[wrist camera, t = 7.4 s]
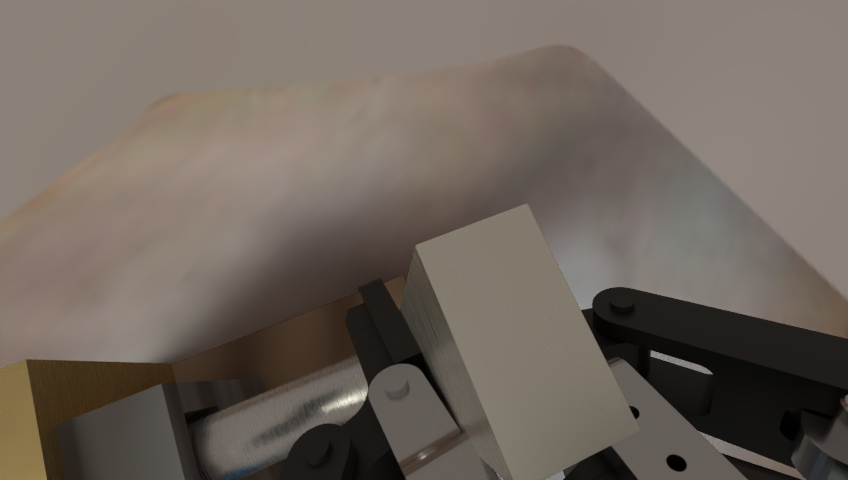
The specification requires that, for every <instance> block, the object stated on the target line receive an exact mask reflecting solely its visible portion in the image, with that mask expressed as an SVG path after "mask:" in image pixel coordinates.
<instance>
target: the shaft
mask: <svg viewBox="0 0 848 480" xmlns="http://www.w3.org/2000/svg"><path fill="white" fill-rule="evenodd" d="M399 311H400V313H401V314H402V316H403V318H404V320H405V321H406V323H407V325H408V327H409V328H410V330H411V332H412V334H413V336H414V338H415V340H416V342H417V344H418V346H419V348H420V350H421V353H422V356H423V359H424V363H425V366H426V369H427V372H428V376H429V379H430V382H431V386H432V388H433V390H434V391H435V393H436V394H437V396H438V397H439V399H440V400H441V402H442V403H443V405H444V406H445V408H446V409H447V411H448V413H449V414H450V416H451V417H452V419H453V420H454V422H455V423H456V425H457V426H458V428H459V429H460V430H461V431H463V430H465V431H466V433H467V434H468V436H469V438H470V440H471V441H472V443H473V445H474V447H475V449H476V451H477V453H478V455H479V457H480V458H481V459H483V460H484V461H485V462H486V463H487V464H488V465H489V466H490V467H491V468H492V469H493V470H495V471H496V472H497V473H498V474H499V475H500V476H501V477H502V478H503V479H504V480H545V479H546V478H548V477H550V476H552V475H554V474H556V473H558V472H560V471H562V470H564V469H566V468H568V467H570V466H572V465H574V464H576V463H578V462H580V461H582V460H584V459H585V458H587V457H589V456H591V455H593V454H595V453H597V452H599V451H601V450H603V449H605V448H607V447H609V446H611V445H613V444H615V443H617V442H619V441H621V440H623V439H625V438H626V437H628V436H630V435H632V434H634V433H636V432H638V431H640V428H639V426H638V424H637V422H636V420H635V418H634V416H633V414H632V412H631V410H630V408H629V406H628V404H627V402H626V400H625V398H624V396H623V394H622V392H621V390H620V388H619V386H618V384H617V382H616V380H615V378H614V376H613V374H612V372H611V370H610V368H609V366H608V364H607V362H606V360H605V358H604V356H603V354H602V352H601V350H600V348H599V346H598V344H597V342H596V340H595V338H594V336H593V334H592V332H591V330H590V328H589V326H588V324H587V322H586V320H585V318H584V316H583V314H582V312H581V310H580V308H579V306H578V304H577V302H576V300H575V298H574V296H573V294H572V292H571V290H570V288H569V286H568V284H567V282H566V280H565V278H564V276H563V274H562V272H561V270H560V268H559V266H558V264H557V262H556V260H555V258H554V256H553V254H552V252H551V250H550V248H549V246H548V244H547V242H546V240H545V238H544V236H543V234H542V232H541V230H540V228H539V226H538V224H537V222H536V220H535V218H534V216H533V214H532V212H531V210H530V208H529V206H528V204H527V203H526V204H524V205H521V206H518V207H516V208H513V209H510V210H508V211H505V212H502V213H500V214H497V215H494V216H492V217H489V218H486V219H484V220H481V221H478V222H476V223H473V224H470V225H468V226H465V227H462V228H460V229H457V230H454V231H452V232H449V233H446V234H444V235H441V236H438V237H436V238H433V239H430V240H428V241H425V242H422V243H420V244H417V245H415V247H414V251H413V255H412V260H411V264H410V268H409V272H408V277H407V281H406V285H405V289H404V293H403V298H402V302H401V306H400V310H399ZM367 392H368V385H367V381H366V378H365V376H364V373H363V370H362V367H361V365H360V362H359V359H358V357H357V354H356V355H354V356H351V357H349V358H346V359H344V360H342V361H339V362H337V363H334V364H332V365H329V366H327V367H325V368H322V369H320V370H317V371H315V372H313V373H310V374H308V375H305V376H303V377H300V378H298V379H296V380H293V381H291V382H288V383H286V384H284V385H281V386H279V387H276V388H274V389H271V390H269V391H267V392H264V393H262V394H259V395H257V396H255V397H252V398H250V399H247V400H245V401H242V402H240V403H238V404H235V405H233V406H230V407H228V408H226V409H223V410H221V411H218V412H216V413H213V414H211V415H209V416H206V417H204V418H201V419H199V420H196V421H194V422H192V423H189V424H187V428H188V431H189V435H190V439H191V443H192V447H193V451H194V455H195V459H196V463H197V467H198V470H199V474H200V478H201V480H239V479H241V478H244V477H246V476H248V475H250V474H253V473H255V472H257V471H259V470H262V469H264V468H266V467H268V466H270V465H273V464H275V463H277V462H279V461H282V460H284V459H286V458H287V456H288V454H289V452H290V450H291V448H292V446H293V445H294V443H295V442H296V441H297V439H298V438H299V437H300V436H301V435H302V434H303V433H305V432H306V431H308V430H309V429H311V428H313V427H315V426H317V425H321V424H326V423H332V424H337V425H339V426H342V425H343V424H345V423H346V422H347V421H348V420H349V419H351V418H352V417H353V416H354V415H355V414H356V413H357V412H358V411H359V409H360V408H361V407H362V405H363V404H364V402H365V399H366V396H367Z"/></svg>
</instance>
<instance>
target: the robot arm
mask: <svg viewBox="0 0 848 480" xmlns="http://www.w3.org/2000/svg"><path fill="white" fill-rule="evenodd" d="M358 289H359V292H360V294H361V297H362V300H363V302H364V303H362V304H360V305H357V306H355V307H353V308H350V309H348V311H347V316H346V320H345V324H346V327H347V329H348V332H349V335H350V338H351V340H352V343H353V346H354V348H355V351H356V354H357V357H358V359H359V362H360V365H361V367H362V370H363V373H364V376H365V378H366V381H367V385H368V392H367V396H366V399H365V402H364V404H363V405H362V407H361V408H360V409H359V411H358V412H357V413H356V414H355V415H354V416H353V417H352V418H351V419H349V420H348V421H347V422H346V423H345V424H343V425H342V426H339V425H337V424H332V423H326V424H321V425H317V426H315V427H313V428H311V429H309V430H308V431H306V432H305V433H303V434H302V435H301V436H300V437H299V438H298V439H297V441H296V442H295V443H294V445H293V446H292V448H291V450H290V452H289V454H288V456H287V459H286V461H285V464H284V466H283V468H282V471H281V473H280V476H279V478H278V480H500V479H499V477H498V476H497V474H496V473H495V471H494V470H493V469H492V468H491V467H490V466H489V465H488V464H487V463H486V462H485V461H484V460H483V459H481V458H480V457H479V455H478V453H477V451H476V449H475V447H474V445H473V443H472V441H471V440H470V438H469V436H468V434H467V433H466V431H465V430H463V431H461V430H460V429H459V428H458V426H457V425H456V423H455V422H454V420H453V419H452V417H451V416H450V414H449V413H448V411H447V409H446V408H445V406H444V405H443V403H442V402H441V400H440V399H439V397H438V396H437V394H436V393H435V391H434V390H433V388H432V386H431V382H430V379H429V376H428V372H427V369H426V366H425V363H424V359H423V356H422V353H421V350H420V348H419V346H418V344H417V342H416V340H415V338H414V336H413V334H412V332H411V330H410V328H409V327H408V325H407V323H406V321H405V320H404V318H403V316H402V314H401V313H400V311H399V309H398V307H397V306H396V304H395V302H394V300H393V299H392V297H391V295H390V293H389V292H388V290H387V288H386V286H385V285H384V283H383V281H382V280H381V278H379V279H376V280H374V281H371V282H369V283H367V284H364V285H362V286H359V287H358ZM581 312H582V314H583V316H584V318H585V320H586V322H587V324H588V326H589V328H590V330H591V332H592V334H593V336H594V338H595V340H596V342H597V344H598V346H599V348H600V350H601V352H602V354H603V356H604V358H605V360H606V362H607V364H608V366H609V368H610V370H611V372H612V374H613V376H614V378H615V380H616V382H617V384H618V386H619V388H620V390H621V392H622V394H623V396H624V398H625V400H626V402H627V404H628V406H629V408H630V410H631V412H632V414H633V416H634V418H635V420H636V422H637V424H638V426H639V428H640V431H638V432H636V433H634V434H632V435H630V436H628V437H626V438H625V439H623V440H621V441H619V442H617V443H615V444H613V445H611V446H609V447H607V448H605V449H603V450H601V451H599V452H597V453H595V454H593V455H591V456H589V457H587V458H585V459H584V460H582V461H580V462H578V463H576V464H574V465H572V466H570V467H568V468H566V469H564V470H563V472H564V475H565V478H564V479H563V480H801V479H798V478H795V477H792V476H789V475H786V474H783V473H780V472H777V471H774V470H771V469H768V468H765V467H762V466H759V465H756V464H753V463H750V462H746V461H743V460H740V459H737V458H734V457H731V456H728V455H725V454H722V453H720V452H719V451H718V450H717V449H716V448H715V447H714V446H713V445H712V444H711V443H710V442H709V441H708V440H707V439H705V438H704V437H703V436H702V435H701V434H700V433H699V432H698V431H700V432H702V433H705V434H708V435H710V436H713V437H715V438H718V439H720V440H723V441H726V442H728V443H731V444H733V445H736V446H739V447H741V448H744V449H746V450H749V451H751V452H754V453H757V454H759V455H762V456H764V457H767V458H769V459H772V460H775V461H777V462H780V463H782V464H785V465H788V466H790V467H793V468H795V469H797V470H798V472H799V473H800V474H801V475H802V476H803V477H804V478H805V479H806V480H848V339H846V338H842V337H837V336H833V335H829V334H824V333H820V332H816V331H812V330H807V329H803V328H799V327H794V326H790V325H786V324H781V323H777V322H773V321H768V320H764V319H760V318H756V317H751V316H747V315H743V314H738V313H734V312H730V311H725V310H721V309H717V308H713V307H708V306H704V305H700V304H695V303H691V302H687V301H682V300H678V299H674V298H669V297H665V296H661V295H657V294H652V293H648V292H644V291H639V290H635V289H631V288H624V287H615V288H609V289H606V290H603V291H601V292H600V293H598V294H597V295H596V296H595V297H594V299H593V303H592V308H590V309H585V310H581ZM651 350H653V351H656V352H659V353H662V354H666V355H669V356H672V357H675V358H679V359H682V360H685V361H688V362H692V363H695V364H698V365H701V366H703V367H705V368H707V369H708V370H710V371H711V372H712V373H713V374H705V373H701V372H698V371H695V370H692V369H689V368H685V367H682V366H679V365H676V364H673V363H670V362H666V361H663V360H660V359H657V358H654V357H650V353H651Z"/></svg>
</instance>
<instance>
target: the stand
mask: <svg viewBox="0 0 848 480" xmlns="http://www.w3.org/2000/svg"><path fill="white" fill-rule="evenodd" d="M384 285H385V286H386V288H387V290H388V292H389V293H390V295H391V297H392V299H393V300H394V302H395V304H396V306H397V307H398V309H399V310H400V306H401V302H402V298H403V293H404V289H405V285H406V280H405V277H404V275H402V276H400V277H397V278H395V279H392V280H389V281H387V282H384ZM362 303H364V302H363V300H362V297H361V294H360V292H358V293H356V294H353V295H351V296H348V297H345V298H343V299H340V300H338V301H335V302H332V303H330V304H327V305H325V306H322V307H320V308H317V309H314V310H312V311H309V312H307V313H304V314H301V315H299V316H296V317H294V318H291V319H288V320H286V321H283V322H281V323H278V324H276V325H273V326H270V327H268V328H265V329H263V330H260V331H257V332H255V333H252V334H250V335H247V336H244V337H242V338H239V339H237V340H234V341H232V342H229V343H226V344H224V345H221V346H219V347H216V348H213V349H211V350H208V351H206V352H203V353H200V354H198V355H195V356H193V357H190V358H188V359H185V360H182V361H180V362H177V363H175V364H172V368H173V372H174V376H175V380H176V383H164V384H159V385H157V386H154V387H151V388H149V389H146V390H144V391H141V392H139V393H136V394H134V395H131V396H129V397H126V398H123V399H121V400H118V401H116V402H113V403H111V404H108V405H106V406H103V407H100V408H98V409H95V410H93V411H90V412H88V413H85V414H83V415H80V416H78V417H75V418H72V419H70V420H67V421H65V422H62V423H60V424H57V425H56V427H57V433H58V438H59V444H60V449H61V454H62V460H63V465H64V471H65V476H66V480H201V478H200V474H199V470H198V467H197V463H196V459H195V455H194V451H193V447H192V443H191V439H190V435H189V431H188V428H187V424H189V423H192V422H194V421H196V420H199V419H201V418H204V417H206V416H209V415H211V414H213V413H216V412H218V411H221V410H223V409H226V408H228V407H230V406H233V405H235V404H238V403H240V402H242V401H245V400H247V399H250V398H252V397H255V396H257V395H259V394H262V393H264V392H267V391H269V390H271V389H274V388H276V387H279V386H281V385H284V384H286V383H288V382H291V381H293V380H296V379H298V378H300V377H303V376H305V375H308V374H310V373H313V372H315V371H317V370H320V369H322V368H325V367H327V366H329V365H332V364H334V363H337V362H339V361H342V360H344V359H346V358H349V357H351V356H354V355H356V351H355V348H354V346H353V343H352V340H351V338H350V335H349V332H348V329H347V327H346V324H345V320H346V316H347V311H348V309H350V308H353V307H355V306H357V305H360V304H362ZM286 459H287V458H286ZM286 459H284V460H282V461H279V462H277V463H275V464H273V465H270V466H268V467H266V468H264V469H262V470H259V471H257V472H255V473H253V474H250V475H248V476H246V477H244V478H241V479H239V480H278V478H279V476H280V473H281V471H282V468H283V466H284V464H285V461H286Z"/></svg>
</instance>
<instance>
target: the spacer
mask: <svg viewBox="0 0 848 480" xmlns="http://www.w3.org/2000/svg"><path fill="white" fill-rule="evenodd" d="M164 383H176V380H175V376H174V372H173V368H172V364H165V363H132V362H99V361H65V360H32V359H25V360H23V361H20V362H17V363H14V364H12V365H9V366H6V367H3V368H1V369H0V480H66V476H65V471H64V465H63V460H62V454H61V449H60V444H59V438H58V433H57V427H56V425H57V424H60V423H62V422H65V421H67V420H70V419H72V418H75V417H78V416H80V415H83V414H85V413H88V412H90V411H93V410H95V409H98V408H100V407H103V406H106V405H108V404H111V403H113V402H116V401H118V400H121V399H123V398H126V397H129V396H131V395H134V394H136V393H139V392H141V391H144V390H146V389H149V388H151V387H154V386H157V385H159V384H164Z"/></svg>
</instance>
